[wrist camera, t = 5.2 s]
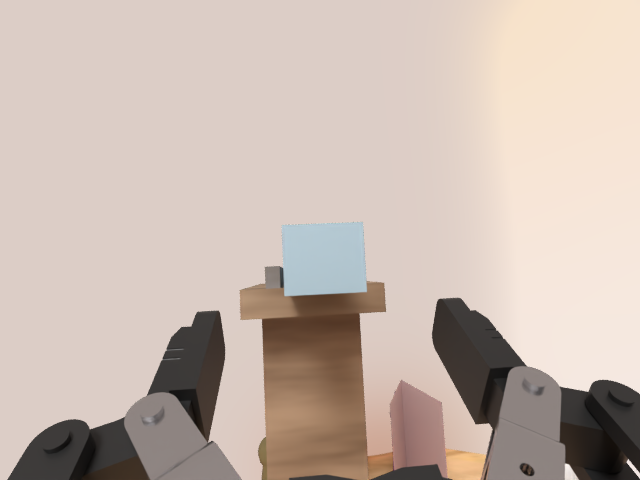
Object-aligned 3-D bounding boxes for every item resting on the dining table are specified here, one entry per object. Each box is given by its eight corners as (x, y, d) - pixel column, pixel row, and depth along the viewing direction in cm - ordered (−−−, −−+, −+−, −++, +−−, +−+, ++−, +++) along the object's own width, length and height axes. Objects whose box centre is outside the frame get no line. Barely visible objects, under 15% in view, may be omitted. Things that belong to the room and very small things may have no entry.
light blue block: (289, 283, 39) (288, 254, 39) (322, 281, 39) (321, 253, 40) (284, 296, 15) (281, 224, 16) (367, 292, 16) (363, 221, 16)
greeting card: (402, 475, 59) (395, 379, 60) (451, 482, 56) (443, 381, 58) (390, 522, 48) (383, 404, 49) (450, 533, 45) (441, 408, 47)
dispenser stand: (261, 587, 39) (252, 271, 42) (373, 574, 40) (355, 266, 43) (235, 853, 21) (221, 268, 24) (438, 819, 22) (400, 260, 25)
